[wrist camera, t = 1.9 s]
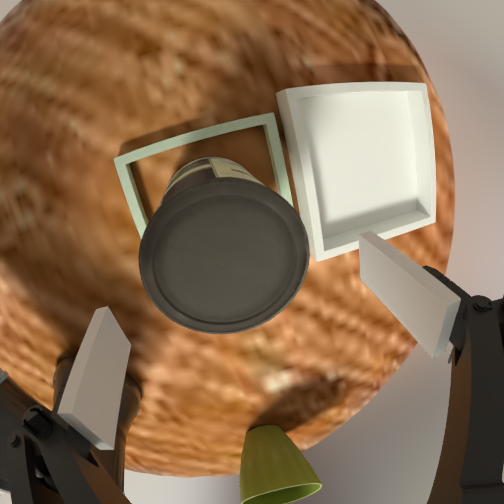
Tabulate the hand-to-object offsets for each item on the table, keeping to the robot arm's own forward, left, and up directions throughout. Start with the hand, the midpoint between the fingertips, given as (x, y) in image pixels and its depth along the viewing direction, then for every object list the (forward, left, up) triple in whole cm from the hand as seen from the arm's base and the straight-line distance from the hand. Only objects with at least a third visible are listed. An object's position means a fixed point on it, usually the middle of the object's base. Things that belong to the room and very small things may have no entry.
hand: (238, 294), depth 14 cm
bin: (+18, +1, -17) cm, 25 cm away
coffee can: (0, 0, -18) cm, 18 cm away
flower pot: (-4, -47, -18) cm, 50 cm away
